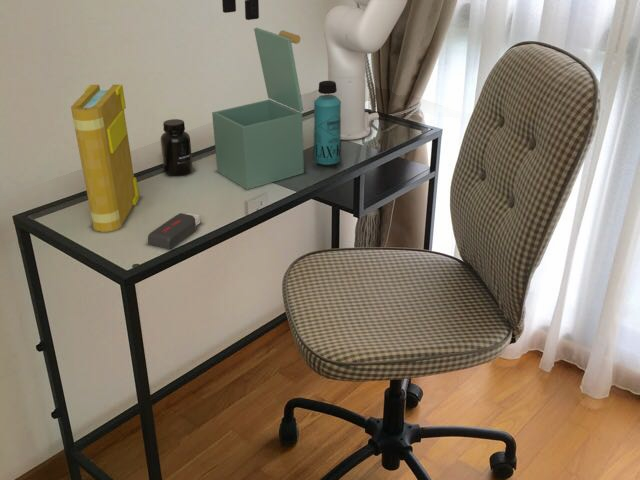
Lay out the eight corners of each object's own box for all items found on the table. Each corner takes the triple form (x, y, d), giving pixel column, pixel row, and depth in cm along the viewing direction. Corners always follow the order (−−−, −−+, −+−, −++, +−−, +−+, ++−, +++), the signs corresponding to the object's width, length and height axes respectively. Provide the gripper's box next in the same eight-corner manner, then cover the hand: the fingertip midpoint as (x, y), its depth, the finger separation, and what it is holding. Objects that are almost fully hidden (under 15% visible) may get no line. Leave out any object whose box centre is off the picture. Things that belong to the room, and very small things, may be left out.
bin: (247, 189, 176) (243, 127, 169) (217, 171, 186) (211, 112, 178) (303, 173, 184) (302, 113, 176) (272, 156, 193) (269, 99, 186)
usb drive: (148, 244, 154) (146, 231, 153) (183, 220, 163) (181, 208, 162) (170, 249, 152) (168, 236, 151) (204, 224, 161) (202, 212, 160)
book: (109, 197, 174) (89, 84, 160) (139, 197, 174) (122, 84, 160) (87, 231, 160) (64, 110, 146) (120, 231, 159) (100, 110, 146)
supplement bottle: (187, 177, 183) (182, 127, 176) (160, 176, 184) (153, 126, 178) (197, 167, 188) (192, 118, 182) (170, 165, 190) (164, 116, 183)
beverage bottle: (308, 166, 188) (306, 82, 177) (327, 158, 192) (326, 76, 181) (328, 173, 184) (327, 87, 173) (347, 165, 188) (347, 81, 177)
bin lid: (287, 39, 166) (308, 31, 168) (253, 28, 175) (274, 20, 177) (300, 112, 176) (320, 103, 178) (268, 98, 185) (287, 89, 188)
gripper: (274, -67, 163) (275, 20, 172) (231, -74, 174) (235, 7, 183) (243, -65, 159) (246, 24, 168) (201, -72, 171) (207, 11, 180)
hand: (240, 15), depth 176 cm, fingers open, 9 cm apart
